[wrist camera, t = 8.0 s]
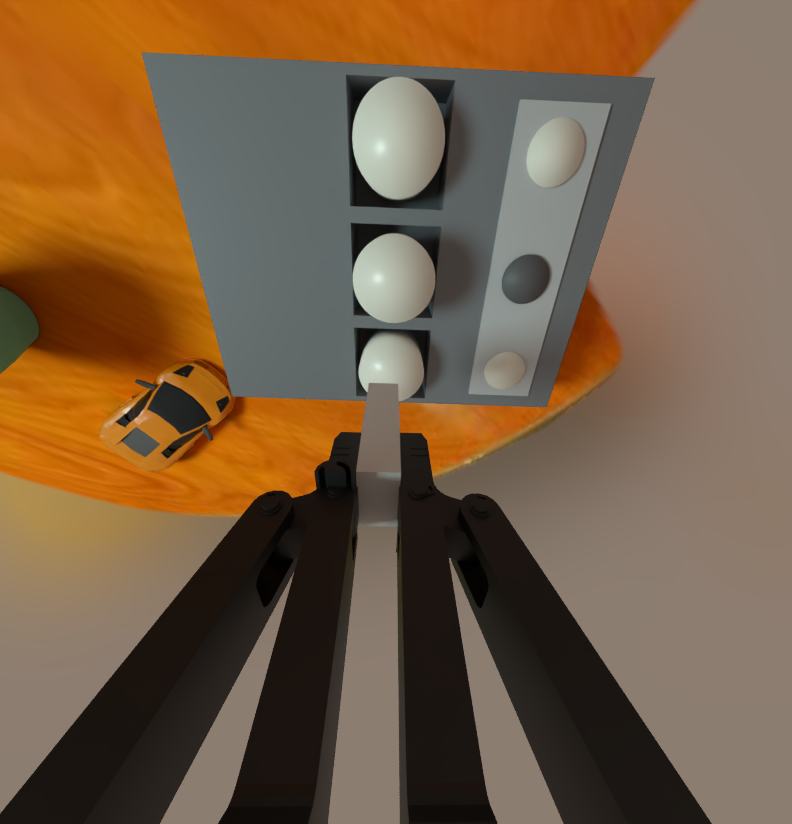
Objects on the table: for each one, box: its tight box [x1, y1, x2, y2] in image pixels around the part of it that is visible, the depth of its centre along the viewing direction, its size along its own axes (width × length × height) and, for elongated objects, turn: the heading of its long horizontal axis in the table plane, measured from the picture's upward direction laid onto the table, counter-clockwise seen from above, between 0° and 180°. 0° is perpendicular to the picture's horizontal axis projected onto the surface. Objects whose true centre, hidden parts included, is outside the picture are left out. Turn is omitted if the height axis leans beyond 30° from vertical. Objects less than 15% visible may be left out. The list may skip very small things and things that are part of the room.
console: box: [142, 52, 655, 407], centre depth 21 cm, size 24×18×4 cm
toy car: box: [98, 359, 236, 472], centre depth 28 cm, size 7×13×3 cm, turn 124°
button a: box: [359, 328, 424, 401], centre depth 23 cm, size 4×4×4 cm
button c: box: [352, 77, 445, 202], centre depth 17 cm, size 4×4×4 cm
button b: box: [353, 233, 435, 323], centre depth 18 cm, size 4×4×4 cm
